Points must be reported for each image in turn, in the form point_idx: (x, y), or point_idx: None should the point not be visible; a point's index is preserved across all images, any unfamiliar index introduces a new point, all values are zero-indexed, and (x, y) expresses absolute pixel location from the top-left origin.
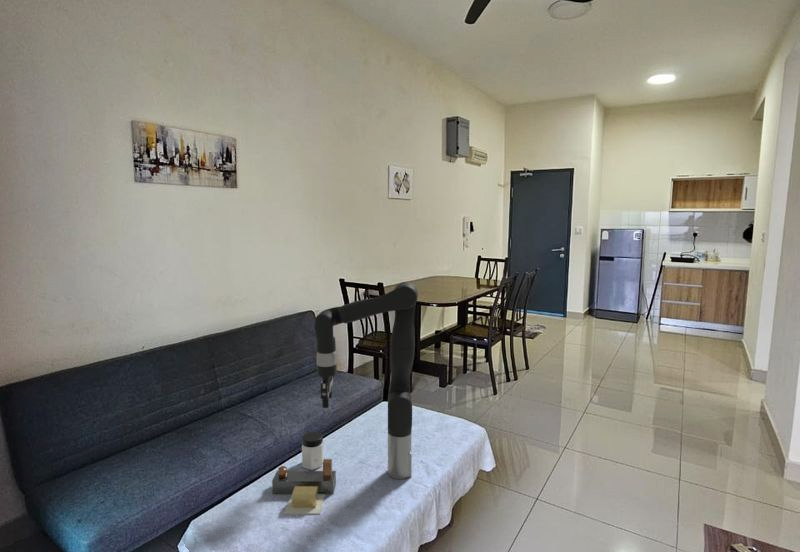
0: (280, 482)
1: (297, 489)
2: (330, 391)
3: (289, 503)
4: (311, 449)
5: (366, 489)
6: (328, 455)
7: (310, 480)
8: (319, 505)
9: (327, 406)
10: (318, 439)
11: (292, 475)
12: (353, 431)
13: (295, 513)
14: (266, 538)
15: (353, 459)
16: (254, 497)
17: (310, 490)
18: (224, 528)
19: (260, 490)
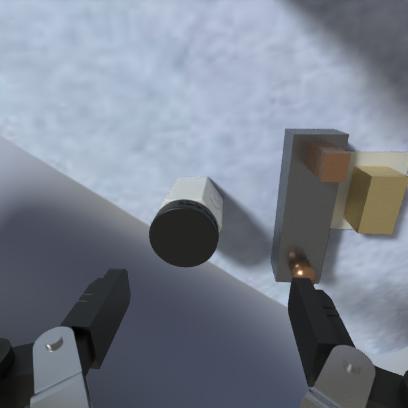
0: (321, 265)
1: (373, 225)
2: (102, 318)
3: None
4: (221, 224)
5: (327, 27)
6: (152, 167)
7: (331, 199)
8: (380, 158)
9: (311, 287)
10: (203, 217)
11: (300, 245)
12: (11, 107)
13: None
14: None
15: (168, 89)
16: None
17: (386, 192)
18: (400, 317)
19: None
